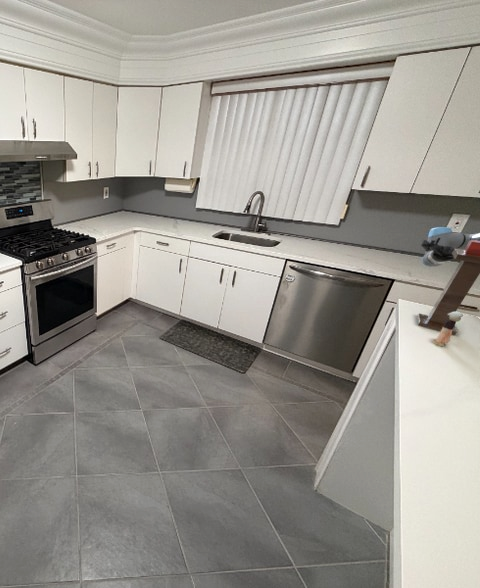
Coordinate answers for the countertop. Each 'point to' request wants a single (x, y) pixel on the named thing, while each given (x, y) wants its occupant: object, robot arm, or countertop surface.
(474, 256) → the shelf stand
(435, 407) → the countertop surface
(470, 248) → the toy mallet
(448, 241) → the robot arm
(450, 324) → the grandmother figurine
